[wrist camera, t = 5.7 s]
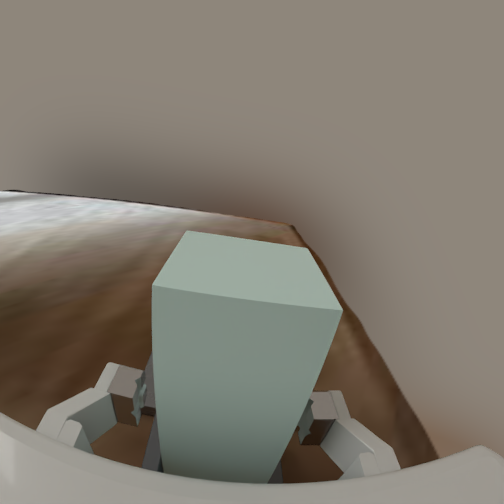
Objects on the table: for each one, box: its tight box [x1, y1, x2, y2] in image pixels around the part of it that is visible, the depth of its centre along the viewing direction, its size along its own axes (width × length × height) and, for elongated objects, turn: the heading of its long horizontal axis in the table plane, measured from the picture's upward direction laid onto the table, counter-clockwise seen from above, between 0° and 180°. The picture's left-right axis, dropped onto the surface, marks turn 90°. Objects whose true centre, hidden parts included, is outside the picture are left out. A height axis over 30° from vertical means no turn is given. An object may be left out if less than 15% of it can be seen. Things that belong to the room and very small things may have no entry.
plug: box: [152, 231, 343, 484], centre depth 10 cm, size 4×4×14 cm
